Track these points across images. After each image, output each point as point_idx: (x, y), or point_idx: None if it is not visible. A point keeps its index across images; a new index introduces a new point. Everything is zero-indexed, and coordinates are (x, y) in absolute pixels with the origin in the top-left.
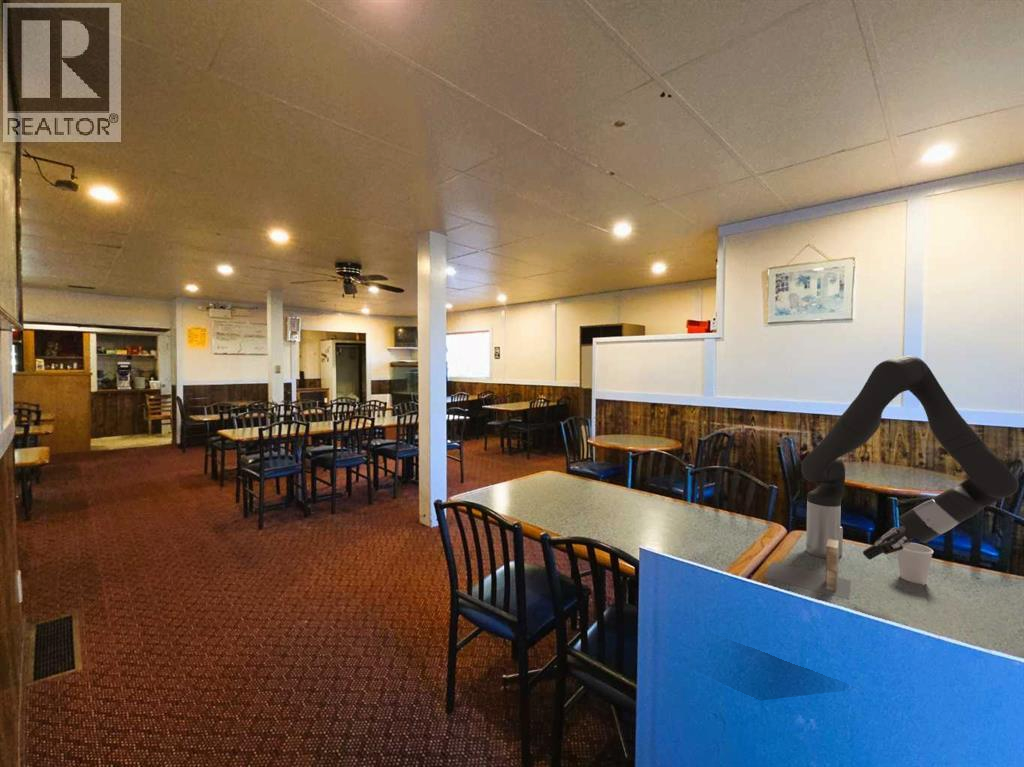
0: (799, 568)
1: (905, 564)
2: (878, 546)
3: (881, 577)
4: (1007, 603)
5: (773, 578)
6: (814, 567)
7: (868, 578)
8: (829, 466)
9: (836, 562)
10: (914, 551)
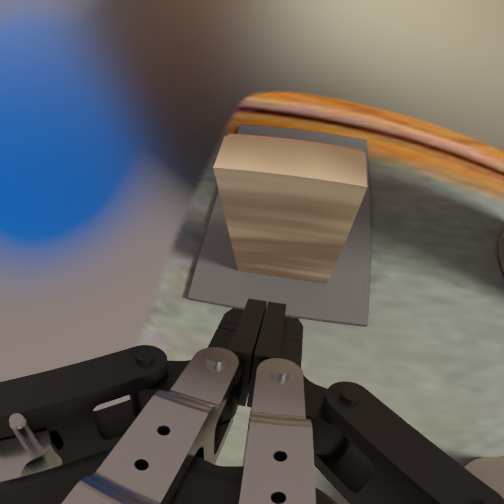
0: (367, 191)
1: (488, 481)
2: (131, 351)
3: (460, 414)
4: None
5: None
6: (418, 234)
7: (432, 380)
8: None
9: (226, 214)
10: None
